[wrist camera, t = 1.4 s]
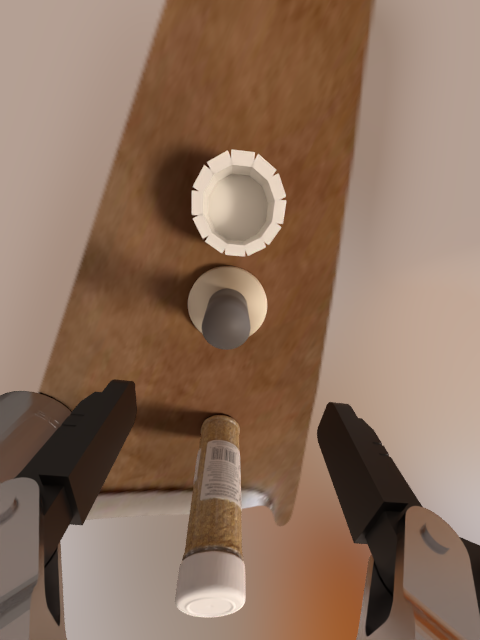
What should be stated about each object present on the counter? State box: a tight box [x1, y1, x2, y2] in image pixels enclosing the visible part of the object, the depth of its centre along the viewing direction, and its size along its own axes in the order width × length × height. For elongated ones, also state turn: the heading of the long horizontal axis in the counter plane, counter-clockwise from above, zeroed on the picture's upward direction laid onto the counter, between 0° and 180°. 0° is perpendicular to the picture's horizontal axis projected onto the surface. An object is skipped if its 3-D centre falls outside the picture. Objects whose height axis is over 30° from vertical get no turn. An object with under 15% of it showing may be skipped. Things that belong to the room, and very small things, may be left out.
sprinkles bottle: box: [175, 415, 245, 617], centre depth 20 cm, size 5×5×13 cm
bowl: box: [192, 150, 286, 256], centre depth 15 cm, size 6×6×4 cm
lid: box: [188, 266, 267, 349], centre depth 18 cm, size 7×7×5 cm
